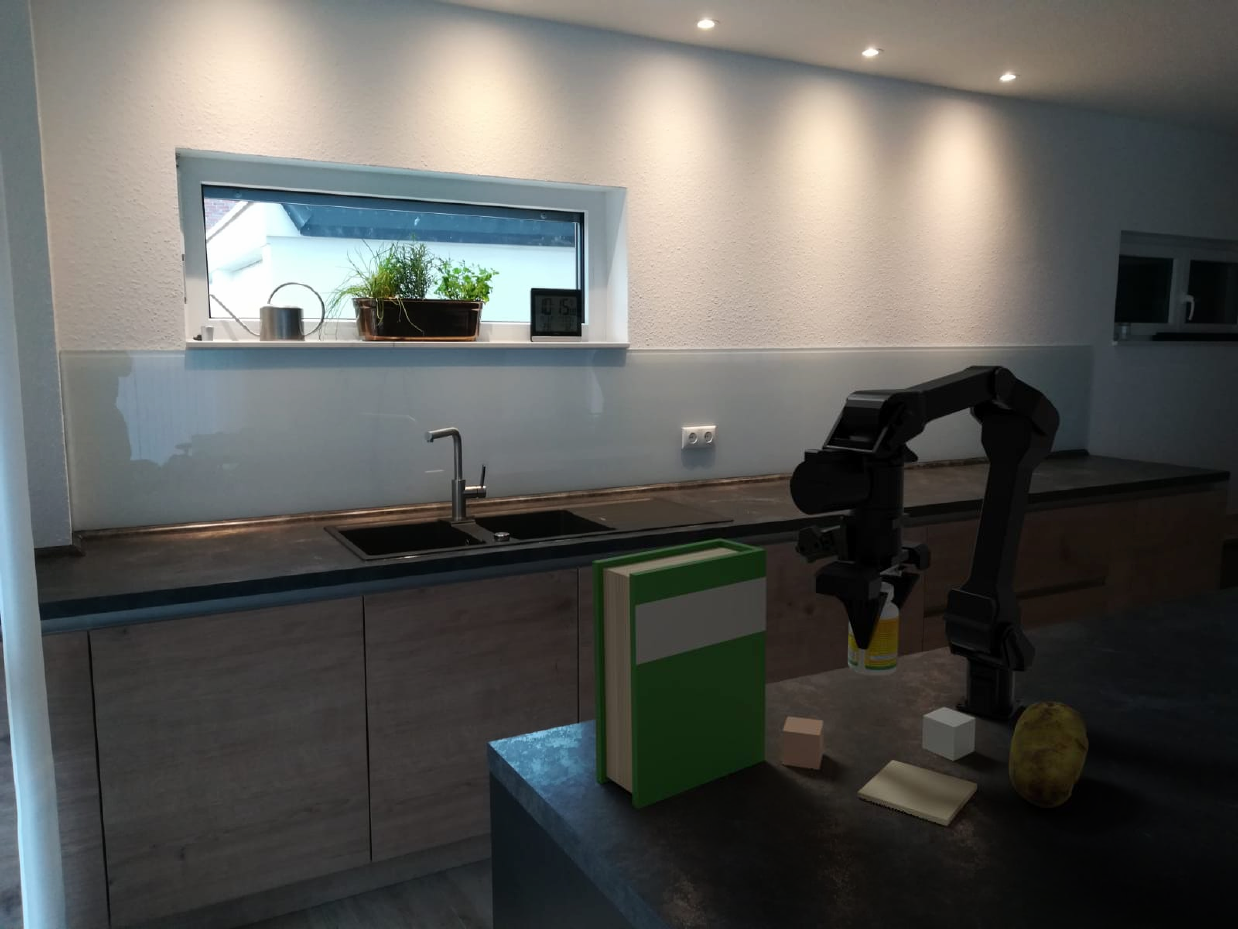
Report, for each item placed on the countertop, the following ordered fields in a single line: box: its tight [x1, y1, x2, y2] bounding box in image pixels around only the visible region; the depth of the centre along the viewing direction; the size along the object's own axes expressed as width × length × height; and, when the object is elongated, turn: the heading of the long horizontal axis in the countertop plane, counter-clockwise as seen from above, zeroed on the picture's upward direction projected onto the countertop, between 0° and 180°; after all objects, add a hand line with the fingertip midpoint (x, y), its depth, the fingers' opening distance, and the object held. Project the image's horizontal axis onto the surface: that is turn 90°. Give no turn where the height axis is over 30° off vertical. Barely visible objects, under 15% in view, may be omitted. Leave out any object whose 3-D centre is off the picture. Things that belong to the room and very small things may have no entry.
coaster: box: [857, 759, 978, 827], centre depth 91 cm, size 9×9×1 cm
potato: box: [1008, 700, 1089, 809], centre depth 92 cm, size 8×13×8 cm, turn 132°
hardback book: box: [592, 538, 767, 810], centre depth 96 cm, size 18×7×24 cm, turn 125°
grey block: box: [921, 706, 976, 762], centre depth 101 cm, size 4×4×4 cm
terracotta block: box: [781, 716, 825, 770], centre depth 99 cm, size 4×4×4 cm
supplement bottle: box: [847, 582, 900, 676], centre depth 100 cm, size 5×5×10 cm
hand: (873, 642), depth 100 cm, fingers closed on supplement bottle, 5 cm apart
